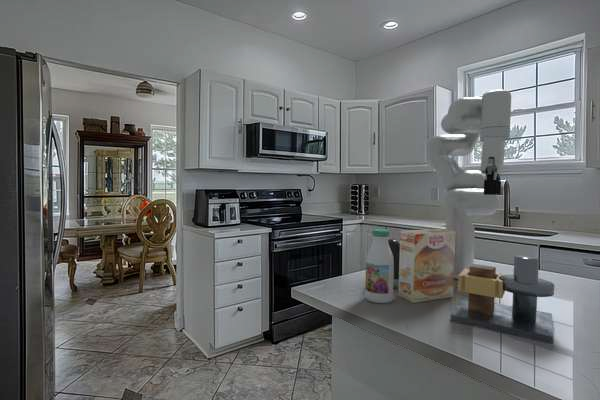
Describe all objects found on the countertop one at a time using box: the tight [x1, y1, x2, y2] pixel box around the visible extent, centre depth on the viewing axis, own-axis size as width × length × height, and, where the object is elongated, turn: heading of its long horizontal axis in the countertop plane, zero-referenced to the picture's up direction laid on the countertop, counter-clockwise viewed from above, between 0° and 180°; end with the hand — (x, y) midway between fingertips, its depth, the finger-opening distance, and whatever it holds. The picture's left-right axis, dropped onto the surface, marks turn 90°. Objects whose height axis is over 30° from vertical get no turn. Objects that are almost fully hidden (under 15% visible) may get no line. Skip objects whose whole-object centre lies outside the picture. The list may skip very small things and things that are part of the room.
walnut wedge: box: [468, 263, 497, 315], centre depth 86 cm, size 5×4×11 cm
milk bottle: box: [364, 228, 394, 304], centre depth 98 cm, size 8×8×20 cm
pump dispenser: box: [388, 238, 400, 289], centre depth 111 cm, size 10×10×15 cm
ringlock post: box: [450, 255, 555, 345], centre depth 84 cm, size 20×16×16 cm
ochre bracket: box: [457, 269, 507, 300], centre depth 89 cm, size 10×14×4 cm, turn 144°
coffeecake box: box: [397, 228, 456, 303], centre depth 101 cm, size 15×7×20 cm, turn 112°
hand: (492, 194), depth 100 cm, fingers open, 9 cm apart
